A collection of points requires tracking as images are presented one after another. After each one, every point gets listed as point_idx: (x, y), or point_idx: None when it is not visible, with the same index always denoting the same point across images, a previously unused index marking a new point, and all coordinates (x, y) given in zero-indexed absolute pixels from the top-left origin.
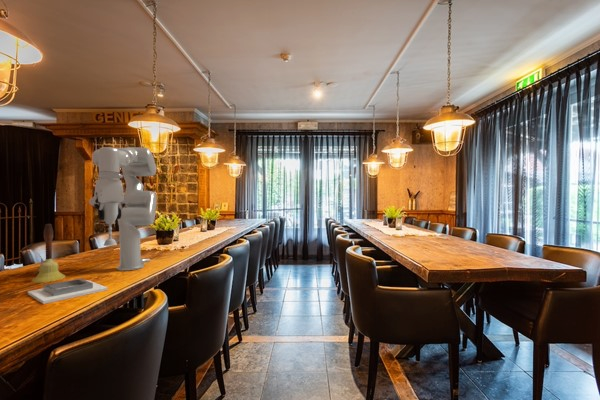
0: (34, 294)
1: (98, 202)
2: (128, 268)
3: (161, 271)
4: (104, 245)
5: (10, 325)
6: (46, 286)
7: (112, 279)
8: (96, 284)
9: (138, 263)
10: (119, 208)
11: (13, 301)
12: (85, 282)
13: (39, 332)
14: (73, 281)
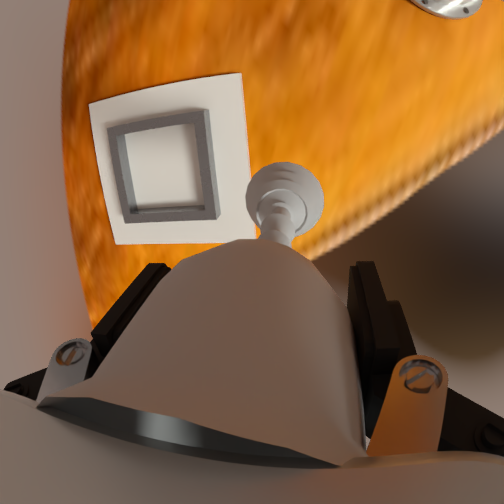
0: (98, 157)
1: (4, 403)
2: (420, 3)
3: (487, 138)
4: (247, 208)
5: (94, 319)
6: (112, 152)
7: (321, 97)
8: (242, 171)
9: (465, 2)
10: (370, 438)
11: (72, 161)
12: (202, 187)
13: None
14: (179, 124)
